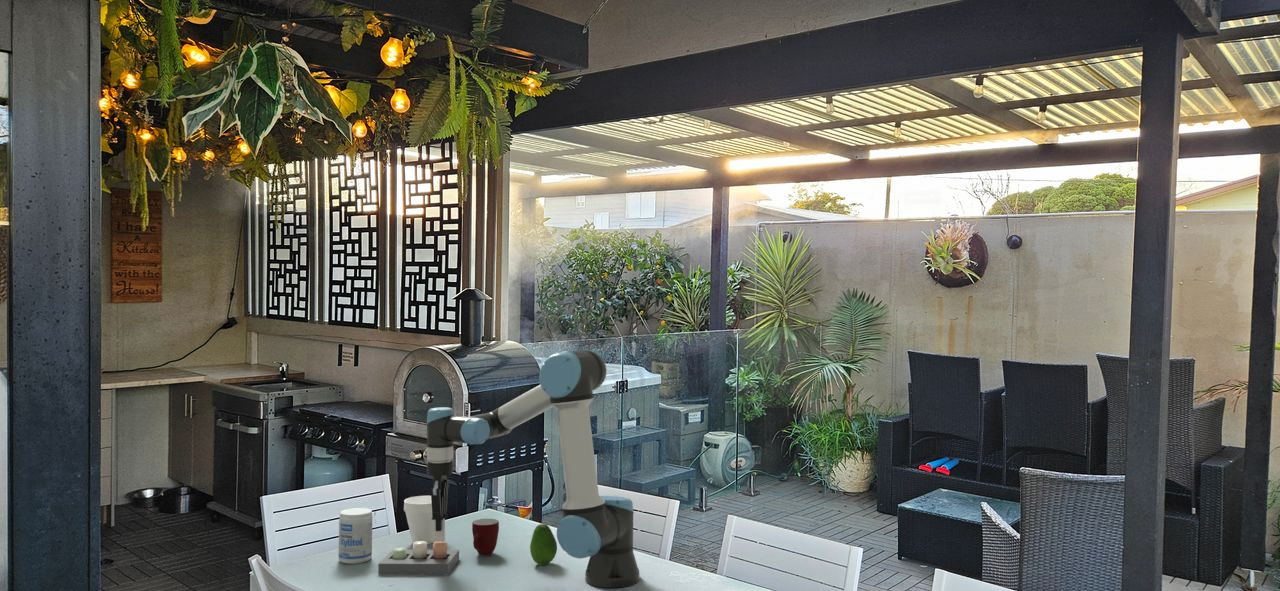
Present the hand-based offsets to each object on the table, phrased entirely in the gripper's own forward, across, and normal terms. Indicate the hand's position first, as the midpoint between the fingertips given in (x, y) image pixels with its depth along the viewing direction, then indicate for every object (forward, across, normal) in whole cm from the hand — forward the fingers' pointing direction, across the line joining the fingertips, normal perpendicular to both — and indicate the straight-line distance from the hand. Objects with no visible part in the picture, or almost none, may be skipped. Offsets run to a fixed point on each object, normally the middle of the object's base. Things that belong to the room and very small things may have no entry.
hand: (439, 540), depth 255 cm
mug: (+8, -12, +11) cm, 18 cm away
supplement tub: (+8, -6, -27) cm, 29 cm away
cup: (+8, -26, -12) cm, 30 cm away
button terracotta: (+5, 0, 0) cm, 5 cm away
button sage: (+7, 0, -12) cm, 13 cm away
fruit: (+8, -3, +30) cm, 31 cm away
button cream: (+5, 0, -6) cm, 7 cm away
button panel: (+8, 0, -6) cm, 10 cm away
